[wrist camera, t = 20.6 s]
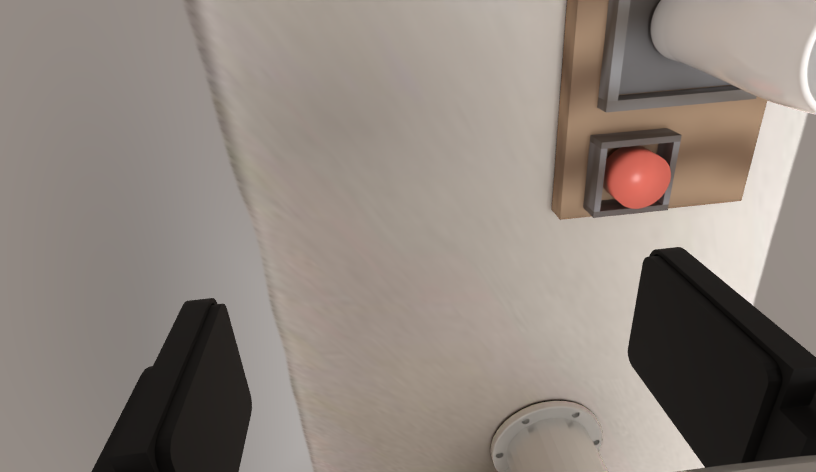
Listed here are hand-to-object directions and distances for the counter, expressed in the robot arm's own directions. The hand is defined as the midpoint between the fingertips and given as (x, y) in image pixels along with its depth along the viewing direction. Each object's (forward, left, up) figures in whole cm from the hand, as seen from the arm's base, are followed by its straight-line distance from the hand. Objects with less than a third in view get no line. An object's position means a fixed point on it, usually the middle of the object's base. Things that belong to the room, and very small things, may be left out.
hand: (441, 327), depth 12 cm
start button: (+2, -21, -28) cm, 35 cm away
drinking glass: (+13, -18, -28) cm, 36 cm away
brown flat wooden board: (+10, -20, -30) cm, 38 cm away
